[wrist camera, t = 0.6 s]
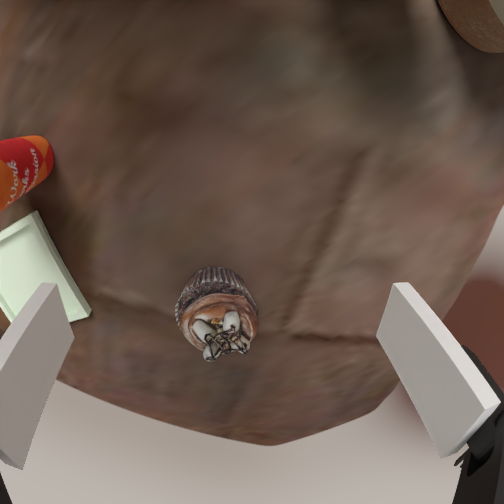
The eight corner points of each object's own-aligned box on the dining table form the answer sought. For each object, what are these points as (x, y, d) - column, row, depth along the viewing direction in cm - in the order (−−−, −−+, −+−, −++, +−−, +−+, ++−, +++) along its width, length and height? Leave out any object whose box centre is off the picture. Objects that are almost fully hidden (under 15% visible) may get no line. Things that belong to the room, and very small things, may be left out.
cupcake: (229, 246, 38) (233, 293, 29) (265, 303, 42) (276, 356, 33) (164, 280, 39) (151, 331, 30) (204, 331, 43) (202, 385, 34)
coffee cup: (41, 203, 33) (-30, 258, 19) (2, 165, 30) (-75, 203, 16) (74, 152, 31) (-3, 186, 17) (32, 112, 28) (-53, 128, 14)
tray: (-26, 248, 34) (-31, 253, 32) (37, 209, 33) (31, 214, 32) (24, 330, 41) (20, 335, 40) (91, 309, 40) (88, 316, 39)
